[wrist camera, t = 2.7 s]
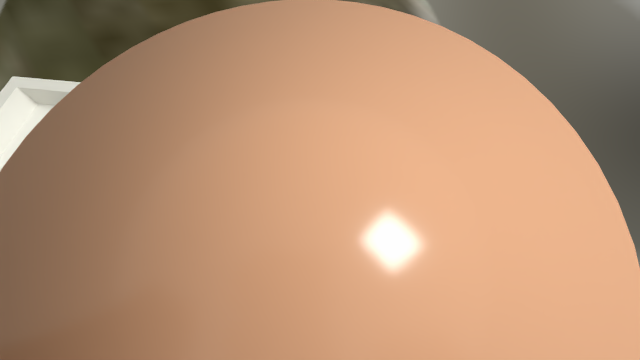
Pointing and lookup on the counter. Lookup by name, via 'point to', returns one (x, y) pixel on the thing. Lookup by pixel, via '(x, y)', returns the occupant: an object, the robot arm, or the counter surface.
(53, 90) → the tray
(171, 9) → the counter surface
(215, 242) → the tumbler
